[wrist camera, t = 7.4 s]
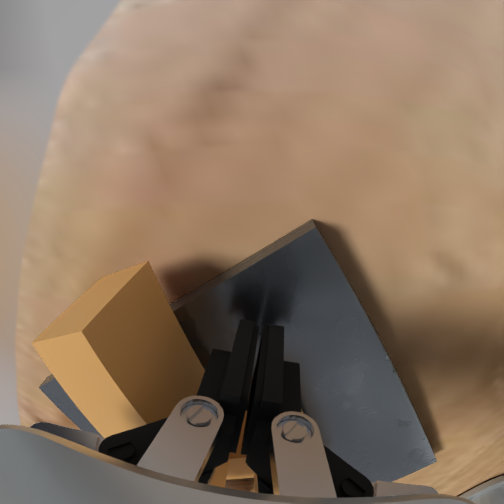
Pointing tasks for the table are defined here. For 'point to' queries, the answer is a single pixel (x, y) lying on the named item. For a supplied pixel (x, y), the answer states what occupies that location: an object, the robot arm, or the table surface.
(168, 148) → the table surface
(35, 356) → the table surface
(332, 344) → the base plate
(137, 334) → the tan wooden bracket
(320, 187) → the table surface
